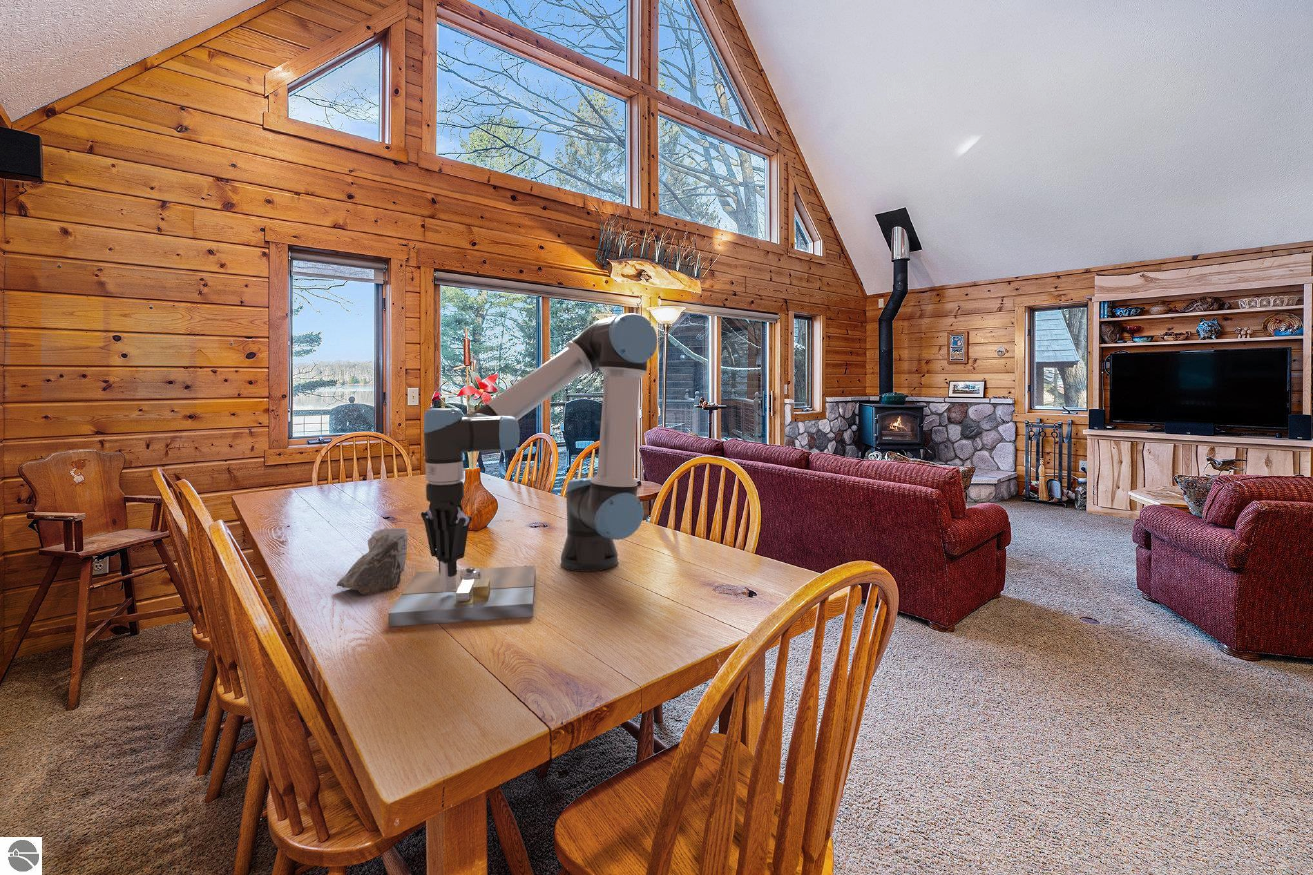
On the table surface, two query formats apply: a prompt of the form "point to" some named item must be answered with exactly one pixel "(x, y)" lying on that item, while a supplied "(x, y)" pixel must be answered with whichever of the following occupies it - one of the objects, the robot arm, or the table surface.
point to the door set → (491, 599)
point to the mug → (398, 535)
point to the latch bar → (467, 583)
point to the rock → (375, 568)
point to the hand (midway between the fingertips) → (448, 589)
